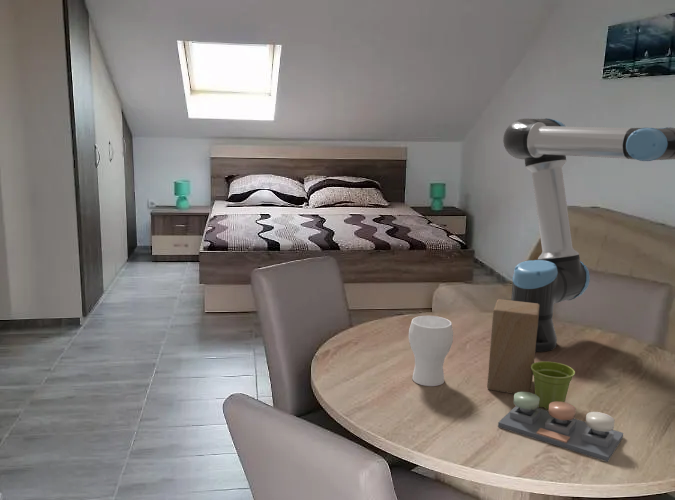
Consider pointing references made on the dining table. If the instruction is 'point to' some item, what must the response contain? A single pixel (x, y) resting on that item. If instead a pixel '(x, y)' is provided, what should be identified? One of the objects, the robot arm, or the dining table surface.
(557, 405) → the button terracotta
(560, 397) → the plant pot
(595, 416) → the button cream
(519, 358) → the wooden block
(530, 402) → the button sage
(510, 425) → the console
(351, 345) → the dining table surface
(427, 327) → the cup
